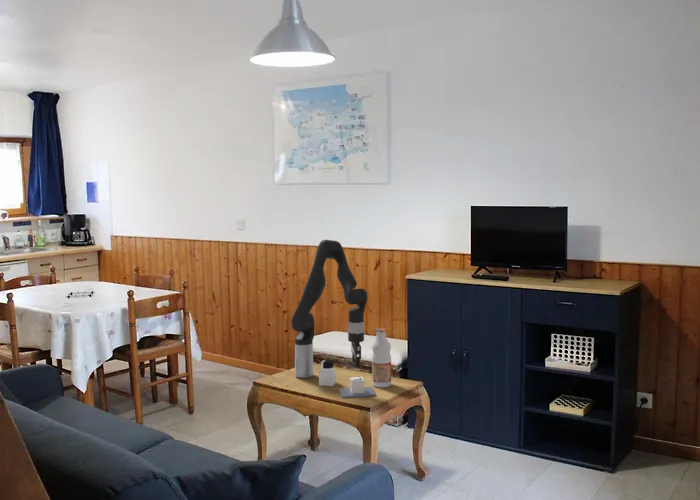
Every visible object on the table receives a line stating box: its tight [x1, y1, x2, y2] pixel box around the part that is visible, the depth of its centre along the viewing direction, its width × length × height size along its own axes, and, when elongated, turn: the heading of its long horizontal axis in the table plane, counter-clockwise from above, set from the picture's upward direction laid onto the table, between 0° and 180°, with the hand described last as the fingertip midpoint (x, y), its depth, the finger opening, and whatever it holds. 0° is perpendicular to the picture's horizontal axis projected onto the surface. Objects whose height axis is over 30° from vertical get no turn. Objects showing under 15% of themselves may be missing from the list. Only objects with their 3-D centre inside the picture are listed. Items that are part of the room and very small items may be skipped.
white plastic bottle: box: [371, 327, 392, 389], centre depth 319 cm, size 9×9×28 cm
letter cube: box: [349, 376, 366, 394], centre depth 308 cm, size 6×6×6 cm
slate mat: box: [338, 386, 377, 399], centre depth 308 cm, size 16×12×1 cm
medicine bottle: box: [318, 359, 337, 387], centre depth 322 cm, size 7×7×12 cm
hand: (356, 364), depth 307 cm, fingers open, 8 cm apart
